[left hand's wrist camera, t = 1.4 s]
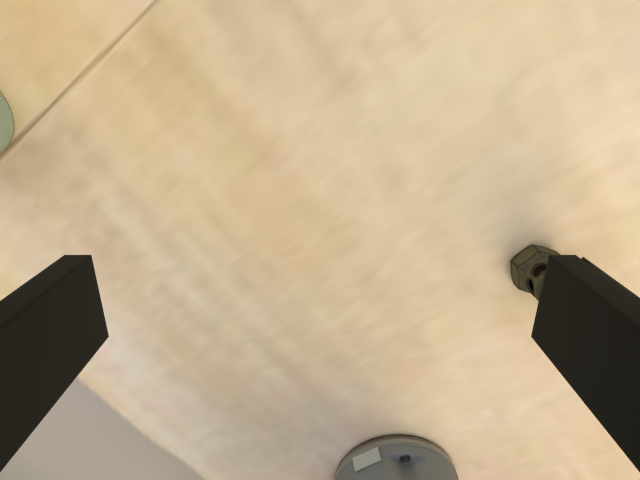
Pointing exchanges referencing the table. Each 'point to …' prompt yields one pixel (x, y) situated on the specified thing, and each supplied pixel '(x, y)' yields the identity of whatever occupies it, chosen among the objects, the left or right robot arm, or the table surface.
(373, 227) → the table surface
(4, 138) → the bottle
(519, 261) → the grenade
